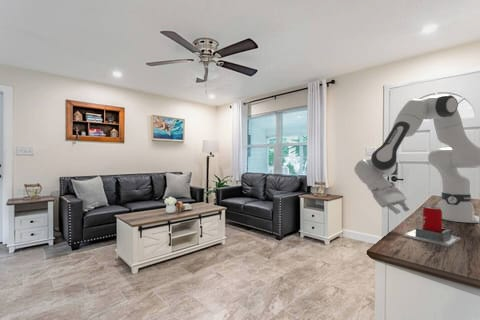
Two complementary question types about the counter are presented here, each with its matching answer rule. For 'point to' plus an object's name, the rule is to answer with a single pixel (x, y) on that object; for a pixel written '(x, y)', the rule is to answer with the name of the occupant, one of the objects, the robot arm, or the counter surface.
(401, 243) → the counter surface
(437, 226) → the beverage can
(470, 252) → the counter surface
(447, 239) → the grey socket base
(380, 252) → the counter surface
